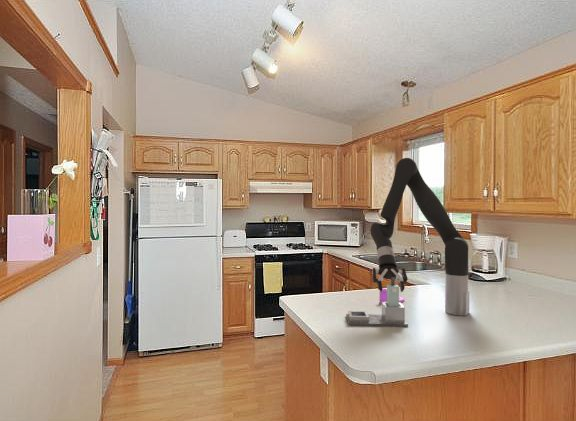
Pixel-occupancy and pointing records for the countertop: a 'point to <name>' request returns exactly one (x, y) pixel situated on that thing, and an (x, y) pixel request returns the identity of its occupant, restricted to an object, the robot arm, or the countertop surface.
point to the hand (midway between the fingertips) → (391, 290)
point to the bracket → (384, 296)
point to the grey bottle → (392, 294)
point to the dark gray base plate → (379, 317)
